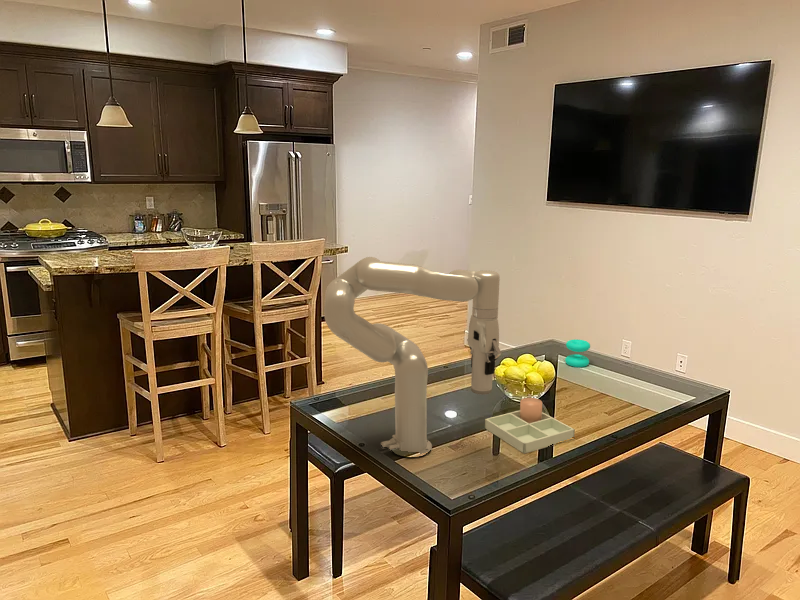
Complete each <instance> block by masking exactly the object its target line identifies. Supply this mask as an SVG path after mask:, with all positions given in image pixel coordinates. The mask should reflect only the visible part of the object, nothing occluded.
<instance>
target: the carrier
mask: <svg viewBox="0 0 800 600" xmlns="http://www.w3.org/2000/svg"><path fill="white" fill-rule="evenodd" d="M484 429H485V430H487V431H488V432H490V433H491V434H493V435H495V436H496V437H497V438H499V439H500V440H502V441H504V442H505V443H507V444H508V445H510V447H511V446H512V447H513V448H515V449H516V450H518V451H519V452H521V453H522V454H528V453H532V452H534V451H538V450H541V449H545V448H549V447H551V446H550V445H552V444H555V445H557V444H556V443H558V442H560V441H564V440H567V439H570V438H572V437H574V438H575V428H573V427H572V426H570V425H567V424H565V423H563V422H562V421H560V420H558V419H556V418H554V417H552V416H550V415H549V414H548V413H545V412H543V411H542V420H540V421H537V422H533V423H527V422H525V421H524V420H522V419H520V409H519V410H515V411H512V412H507V413H505V414H500V415H496V416H493V417H488V418H485V419H484ZM548 446H549V447H548ZM552 446H553V445H552Z"/></svg>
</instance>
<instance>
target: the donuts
mask: <svg viewBox="0 0 800 600" xmlns="http://www.w3.org/2000/svg"><path fill="white" fill-rule="evenodd" d="M565 346H566V348H567V349H568V350H569V351H571V352H574V354H569V355H567V356H566V357H565V358H564V361H565V363H566V365H568V366H570V367H574V368H583V367H587V366H588V365H589V364H590V359H589V358H588V357H587V356H585V355H583V354H578V353H580V352H581V353H584V352H586V351H589V350H590V348H591V344H590V342H589V341H587V340H584V339H576V338H575V339H569V340H567V342H566V343H565ZM575 352H576V353H575Z"/></svg>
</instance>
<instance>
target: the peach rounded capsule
mask: <svg viewBox="0 0 800 600" xmlns="http://www.w3.org/2000/svg"><path fill="white" fill-rule="evenodd" d="M519 406H520V407H519V410H520V419H522V420H524V421H525V422H527V423H533V422H537V421H540V420H542V412H543V401H542V400H541V399H539V398H535V397H524V398H521V399H520V404H519Z"/></svg>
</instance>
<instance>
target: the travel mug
mask: <svg viewBox="0 0 800 600" xmlns="http://www.w3.org/2000/svg"><path fill="white" fill-rule="evenodd" d="M473 340H474V341H473V354H472V355H471V356H472V367H471V382H470V383H471V385H470V390H471V392H472V393H473V394H476V395H479V396H480V395H481V396H483V395H484V396H485V395H490V394H491V393H492V391H493V376H494V374H490V375H485V362H487V360H486V355H485V353H482V352H480V351H479V334H478V332H476V331H474V338H473ZM490 351H492V349H491V350H490ZM489 356H490V357H491V356H492V353H490V354H489Z"/></svg>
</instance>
